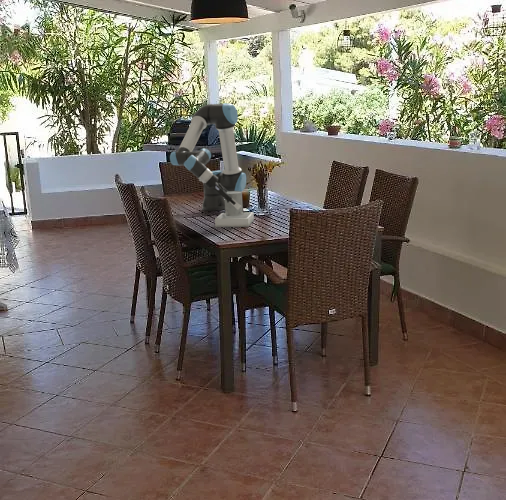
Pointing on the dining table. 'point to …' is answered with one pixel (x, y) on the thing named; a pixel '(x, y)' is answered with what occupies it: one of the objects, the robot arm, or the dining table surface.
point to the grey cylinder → (229, 208)
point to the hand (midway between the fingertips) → (239, 206)
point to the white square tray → (234, 220)
